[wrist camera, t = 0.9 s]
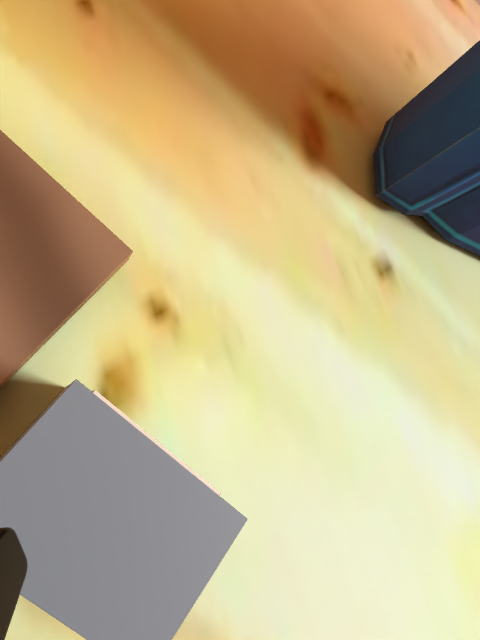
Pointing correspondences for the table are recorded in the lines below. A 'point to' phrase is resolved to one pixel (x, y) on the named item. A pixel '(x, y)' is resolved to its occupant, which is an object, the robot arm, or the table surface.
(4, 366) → the shelf board
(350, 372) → the table surface
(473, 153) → the book
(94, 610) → the carton
